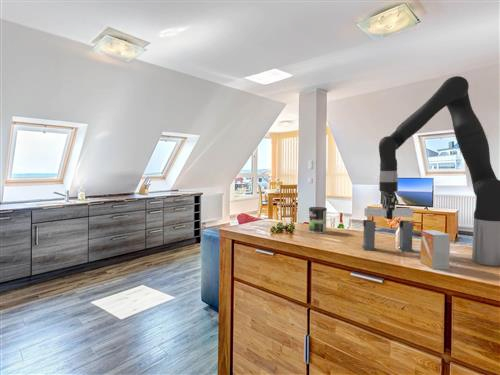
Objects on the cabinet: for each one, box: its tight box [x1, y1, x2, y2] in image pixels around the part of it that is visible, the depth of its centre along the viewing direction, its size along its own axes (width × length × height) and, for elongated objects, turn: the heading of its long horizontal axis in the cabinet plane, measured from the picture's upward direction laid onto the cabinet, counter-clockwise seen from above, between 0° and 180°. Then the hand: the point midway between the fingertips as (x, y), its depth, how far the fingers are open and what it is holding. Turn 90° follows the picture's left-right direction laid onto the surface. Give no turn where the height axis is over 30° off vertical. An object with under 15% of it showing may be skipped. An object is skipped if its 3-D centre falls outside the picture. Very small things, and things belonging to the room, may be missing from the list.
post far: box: [361, 219, 377, 251], centre depth 137 cm, size 5×6×13 cm
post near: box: [398, 220, 415, 253], centre depth 134 cm, size 5×6×13 cm
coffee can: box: [308, 206, 328, 234], centre depth 175 cm, size 10×10×14 cm
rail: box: [363, 207, 414, 218], centre depth 135 cm, size 20×4×4 cm, turn 81°
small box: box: [419, 229, 451, 270], centre depth 112 cm, size 8×6×13 cm
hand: (388, 218), depth 135 cm, fingers closed on rail, 3 cm apart
